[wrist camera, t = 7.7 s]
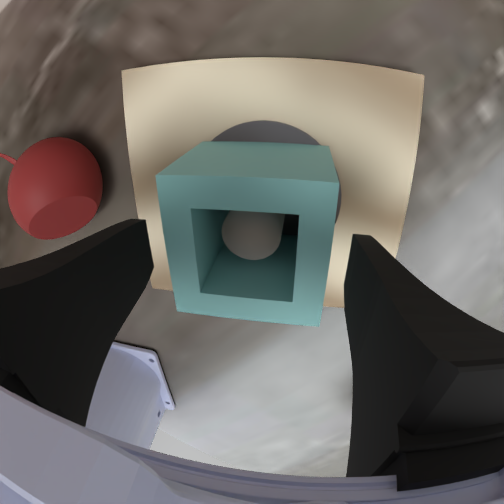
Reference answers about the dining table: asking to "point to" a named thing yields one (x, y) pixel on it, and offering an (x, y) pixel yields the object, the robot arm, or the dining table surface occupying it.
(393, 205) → the post base
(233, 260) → the collar
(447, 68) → the dining table surface
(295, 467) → the dining table surface
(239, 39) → the dining table surface
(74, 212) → the fruit
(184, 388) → the dining table surface
